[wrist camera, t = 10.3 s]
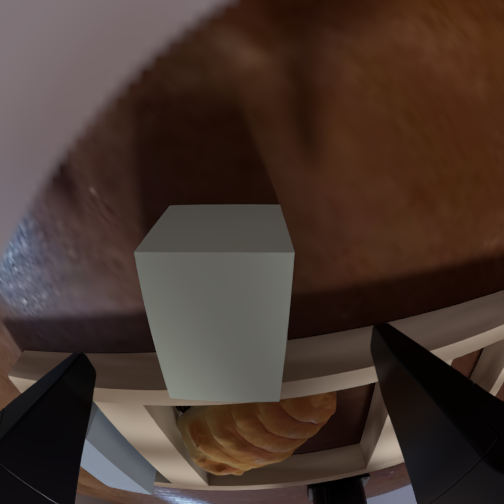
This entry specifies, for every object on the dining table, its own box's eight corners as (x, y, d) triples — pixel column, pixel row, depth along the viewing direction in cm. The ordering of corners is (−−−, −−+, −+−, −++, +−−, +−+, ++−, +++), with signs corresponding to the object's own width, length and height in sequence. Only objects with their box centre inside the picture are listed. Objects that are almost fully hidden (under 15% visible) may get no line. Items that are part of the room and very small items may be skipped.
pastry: (280, 334, 14) (288, 400, 10) (357, 385, 16) (373, 438, 12) (172, 410, 17) (162, 460, 13) (250, 444, 19) (250, 488, 15)
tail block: (272, 331, 13) (279, 401, 10) (186, 330, 13) (170, 398, 10) (279, 203, 11) (294, 252, 7) (170, 204, 11) (134, 252, 7)
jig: (456, 417, 19) (465, 437, 17) (116, 457, 21) (110, 478, 19) (516, 285, 13) (539, 308, 10) (24, 350, 15) (7, 375, 12)
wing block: (160, 448, 19) (152, 494, 15) (119, 443, 20) (107, 486, 16) (109, 380, 15) (86, 439, 11) (63, 376, 16) (37, 427, 12)
